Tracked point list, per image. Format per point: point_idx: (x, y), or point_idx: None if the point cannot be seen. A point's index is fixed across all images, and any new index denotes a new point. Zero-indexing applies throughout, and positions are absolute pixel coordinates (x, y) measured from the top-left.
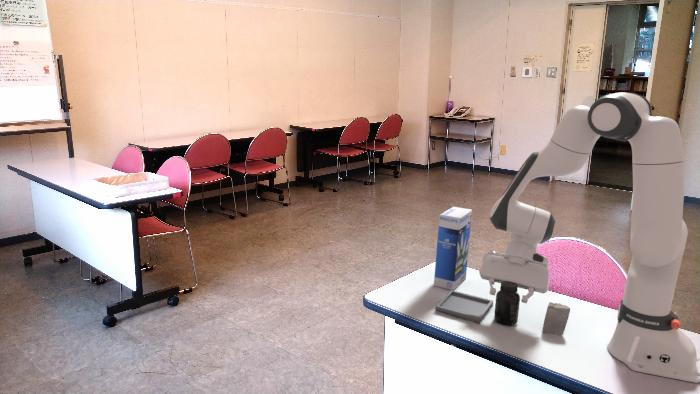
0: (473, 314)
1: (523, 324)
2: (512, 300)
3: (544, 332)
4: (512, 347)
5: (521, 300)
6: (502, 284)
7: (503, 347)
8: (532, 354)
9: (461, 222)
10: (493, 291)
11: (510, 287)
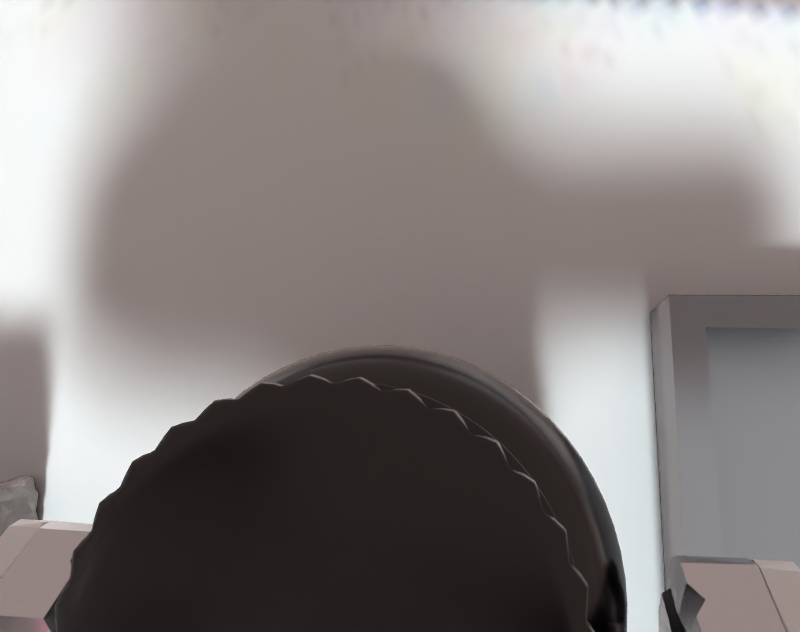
0: (795, 431)
1: None
2: (255, 384)
3: (19, 477)
4: (266, 70)
5: None
6: (517, 511)
7: (332, 30)
8: (112, 60)
9: None
10: (714, 581)
11: (237, 406)
